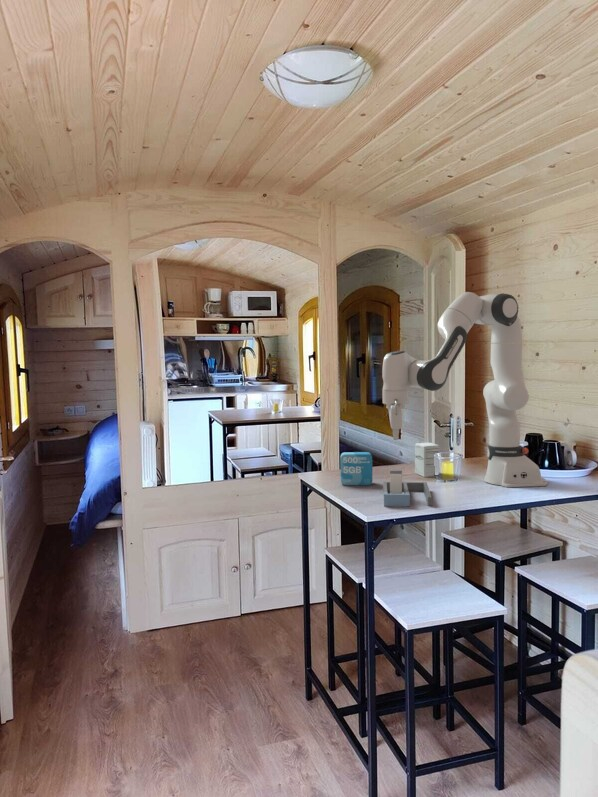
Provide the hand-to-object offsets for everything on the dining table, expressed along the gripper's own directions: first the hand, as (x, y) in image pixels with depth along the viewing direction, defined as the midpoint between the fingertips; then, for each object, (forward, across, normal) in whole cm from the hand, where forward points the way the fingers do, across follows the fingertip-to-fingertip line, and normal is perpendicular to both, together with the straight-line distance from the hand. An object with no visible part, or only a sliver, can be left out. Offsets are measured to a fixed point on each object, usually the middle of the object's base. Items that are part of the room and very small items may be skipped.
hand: (395, 438), depth 209 cm
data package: (+21, +20, +14) cm, 33 cm away
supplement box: (+21, +37, -14) cm, 45 cm away
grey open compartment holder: (+21, 0, -4) cm, 21 cm away
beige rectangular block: (+21, 0, 0) cm, 21 cm away
